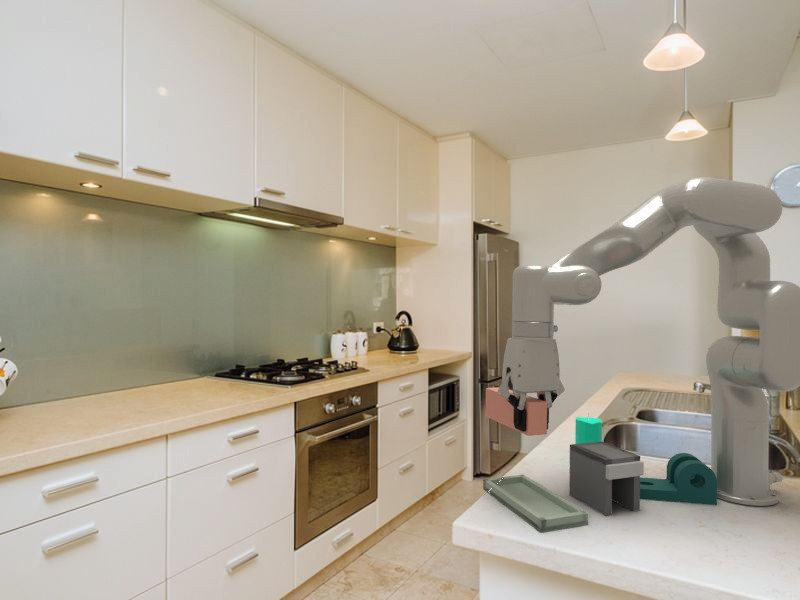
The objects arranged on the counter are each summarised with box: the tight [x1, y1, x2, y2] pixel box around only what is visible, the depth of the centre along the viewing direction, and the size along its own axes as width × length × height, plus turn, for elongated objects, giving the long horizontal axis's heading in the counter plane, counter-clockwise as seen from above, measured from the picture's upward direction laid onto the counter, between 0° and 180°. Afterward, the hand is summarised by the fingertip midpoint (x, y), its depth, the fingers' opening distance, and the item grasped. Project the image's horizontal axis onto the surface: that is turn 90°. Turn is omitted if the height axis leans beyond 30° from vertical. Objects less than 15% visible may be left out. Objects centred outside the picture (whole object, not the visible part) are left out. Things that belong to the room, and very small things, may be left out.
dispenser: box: [568, 440, 644, 517], centre depth 95 cm, size 11×8×10 cm
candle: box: [574, 412, 603, 444], centre depth 119 cm, size 6×6×12 cm
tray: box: [482, 474, 589, 534], centre depth 94 cm, size 9×20×2 cm, turn 19°
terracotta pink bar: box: [484, 387, 548, 437], centre depth 99 cm, size 4×16×6 cm, turn 19°
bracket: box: [640, 452, 718, 506], centre depth 100 cm, size 18×7×8 cm, turn 79°
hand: (531, 427), depth 94 cm, fingers closed on terracotta pink bar, 4 cm apart
